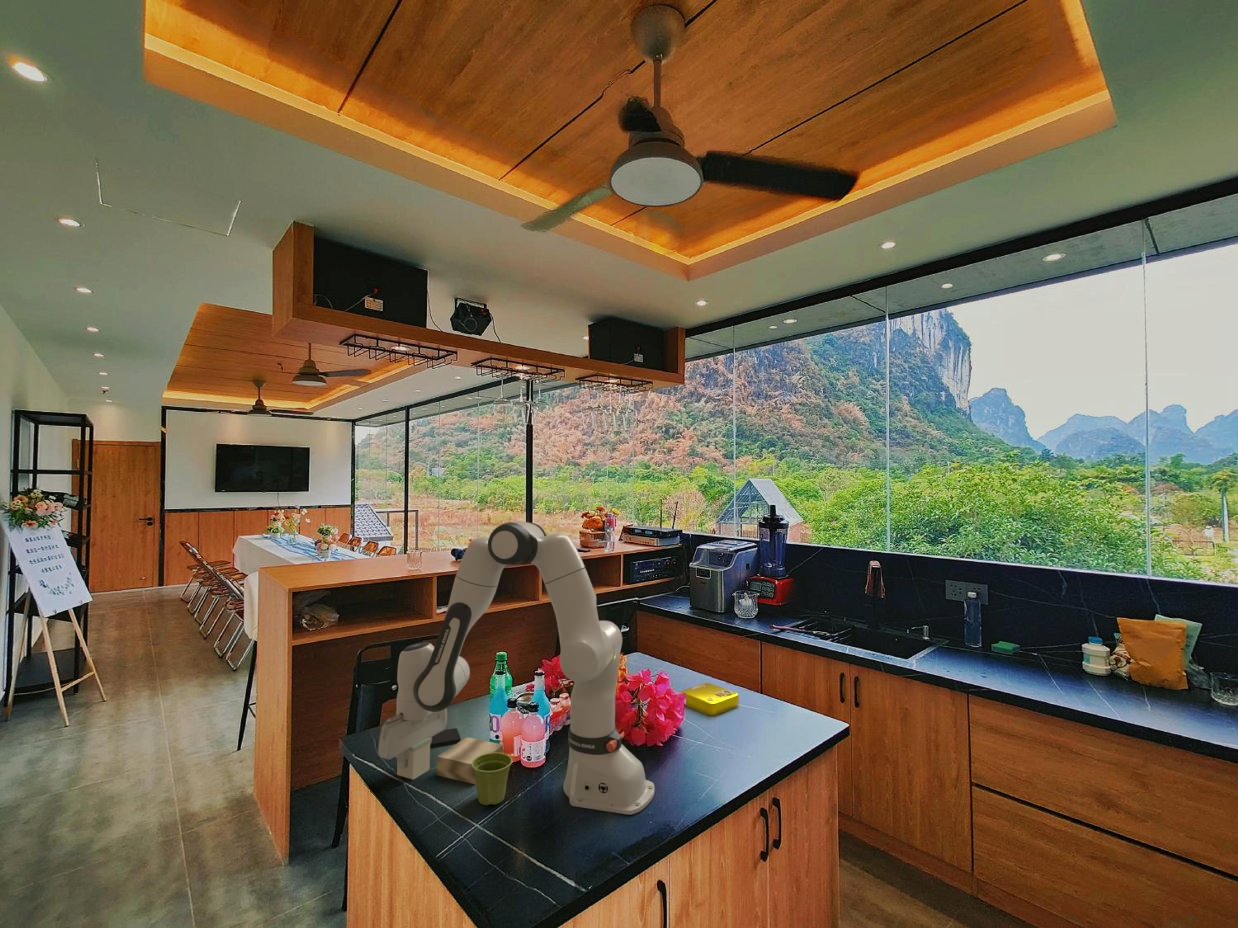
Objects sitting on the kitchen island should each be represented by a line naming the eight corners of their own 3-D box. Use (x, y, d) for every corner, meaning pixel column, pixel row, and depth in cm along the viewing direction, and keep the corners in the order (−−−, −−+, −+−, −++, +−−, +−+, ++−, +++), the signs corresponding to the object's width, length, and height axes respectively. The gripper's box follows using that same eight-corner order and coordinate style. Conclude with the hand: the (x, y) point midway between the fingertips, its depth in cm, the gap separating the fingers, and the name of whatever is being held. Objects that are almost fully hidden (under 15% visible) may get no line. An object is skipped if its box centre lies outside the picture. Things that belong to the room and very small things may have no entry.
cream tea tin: (430, 769, 145) (431, 738, 145) (413, 780, 140) (413, 747, 140) (413, 764, 148) (414, 733, 148) (395, 774, 142) (396, 742, 143)
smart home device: (385, 738, 160) (456, 726, 168) (384, 745, 160) (456, 732, 168) (385, 751, 152) (460, 738, 160) (385, 757, 152) (460, 744, 160)
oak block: (503, 763, 149) (503, 744, 149) (475, 785, 138) (475, 765, 138) (466, 755, 154) (466, 736, 154) (436, 776, 142) (437, 756, 143)
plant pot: (491, 784, 138) (491, 748, 138) (519, 794, 133) (520, 757, 134) (462, 802, 130) (463, 764, 130) (492, 814, 125) (492, 775, 126)
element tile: (707, 693, 201) (707, 680, 201) (741, 706, 189) (741, 692, 189) (678, 703, 191) (678, 689, 191) (712, 717, 179) (712, 702, 180)
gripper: (391, 724, 134) (390, 783, 133) (451, 695, 152) (450, 747, 152) (372, 719, 136) (371, 777, 136) (433, 692, 155) (432, 742, 154)
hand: (413, 761), depth 144 cm, fingers closed on cream tea tin, 6 cm apart
